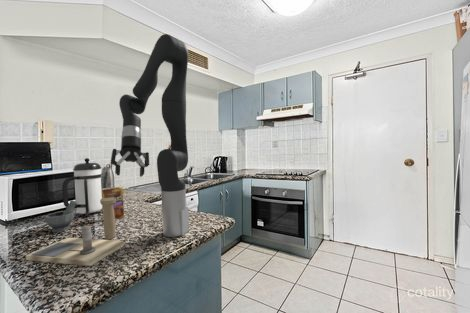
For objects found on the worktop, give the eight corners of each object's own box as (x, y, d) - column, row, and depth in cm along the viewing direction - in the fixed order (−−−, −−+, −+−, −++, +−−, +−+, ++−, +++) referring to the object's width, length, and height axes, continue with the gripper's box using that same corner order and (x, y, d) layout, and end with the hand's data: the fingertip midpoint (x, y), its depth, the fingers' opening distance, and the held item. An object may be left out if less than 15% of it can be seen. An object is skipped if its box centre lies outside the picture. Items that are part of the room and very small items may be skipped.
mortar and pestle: (46, 235, 90) (44, 206, 90) (46, 229, 97) (44, 202, 97) (80, 228, 97) (78, 201, 97) (77, 223, 105) (76, 198, 104)
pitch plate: (124, 245, 79) (122, 218, 78) (91, 265, 65) (89, 233, 65) (67, 241, 84) (66, 216, 83) (26, 260, 70) (23, 230, 70)
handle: (114, 233, 90) (112, 196, 89) (119, 238, 85) (117, 199, 84) (100, 237, 86) (98, 199, 86) (105, 242, 82) (103, 201, 81)
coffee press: (77, 211, 125) (73, 158, 124) (109, 208, 130) (106, 157, 129) (63, 221, 109) (59, 159, 108) (100, 217, 114) (97, 158, 113)
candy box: (103, 221, 106) (101, 189, 106) (103, 219, 110) (101, 188, 109) (124, 217, 111) (122, 187, 111) (123, 215, 115) (121, 186, 114)
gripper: (114, 132, 88) (111, 172, 83) (151, 137, 96) (151, 174, 91) (111, 139, 94) (108, 177, 89) (146, 143, 102) (145, 178, 97)
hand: (130, 175), depth 90 cm, fingers open, 8 cm apart
